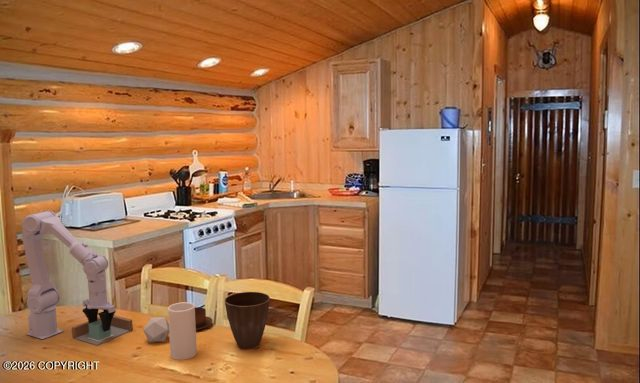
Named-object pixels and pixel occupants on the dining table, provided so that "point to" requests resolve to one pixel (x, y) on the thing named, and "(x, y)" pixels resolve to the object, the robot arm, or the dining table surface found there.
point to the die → (157, 329)
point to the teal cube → (98, 331)
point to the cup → (182, 330)
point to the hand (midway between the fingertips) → (100, 328)
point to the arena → (117, 329)
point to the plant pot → (247, 317)
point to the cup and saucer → (201, 318)
